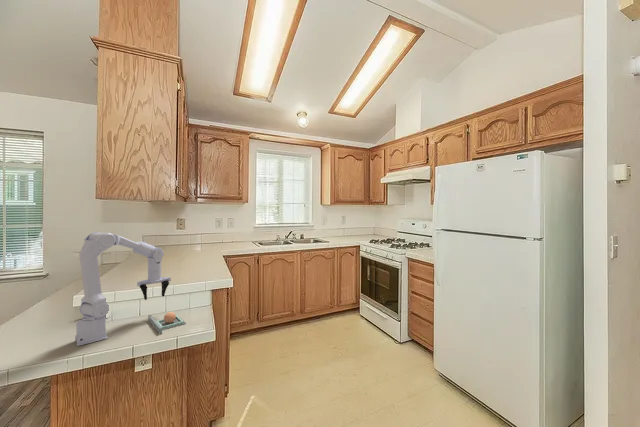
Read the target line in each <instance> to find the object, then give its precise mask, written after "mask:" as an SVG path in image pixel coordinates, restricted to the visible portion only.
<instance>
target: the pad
mask: <svg viewBox="0 0 640 427" xmlns="http://www.w3.org/2000/svg"><path fill="white" fill-rule="evenodd" d="M156 321H157V323H158V324H159V325H160V326H161V327H162V331H164V330H167V329H171V328H175V327H179V326H183V325H186V324H187V323H186V321H185V320H183V319H182V318H181V317H180V316H179V315H176V319H175V320H174V322H172V323H166V322H165V321H164V318H163V319H160V320H156Z"/></svg>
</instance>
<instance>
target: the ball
mask: <svg viewBox="0 0 640 427" xmlns="http://www.w3.org/2000/svg"><path fill="white" fill-rule="evenodd" d="M176 316H177V315H176V314H175V312H173V311H170V312H167V313H165V314H164V316H163V319H164V321H165V322H166V323H172V322H174V320H175V319H176Z"/></svg>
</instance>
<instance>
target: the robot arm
mask: <svg viewBox="0 0 640 427" xmlns="http://www.w3.org/2000/svg"><path fill="white" fill-rule="evenodd" d="M83 242H84V243H83V245H82V246H81V249H80V251H79V262H80V272H81V277H82V286H83V293H84V294H83V295H84V296H83V297H82V298H81V300H80V303H81V304H80V306H79V314H81V315H82V319H79V320H76V322H75V323H76V324H75V327H76V329H75V331H76V333H75V341H76V345H77V347H79V346H83V345H87V344H90V343H91V344H92V343H95V342H98V341H99V342H100V341H103V340H106V339H108V337H109V336H108V334H107V330H106V329H107V328H106V324H107V323H106V319H107V318H106V314H107V313H108V311H109V305H108V304H107V302H106V298H105V297H104V296H103V292H102V284H101V278H100V269H99V259H98V256H100V255H101V254H102V253H103V252H104V251H107V250H109V249H110V248H112V247H113V246H122V247H125V248H129V249H132V251H133V253H135V254H139V255H141V256H144V257H145V258H147V279H143V280H137V281H136V286H137V287H139V288H140V291H141V292H142V294H143V299H144V300H145V301H147V299H148V293H147V292H148V287H147V285H152V284H158V283H161V297H165V294H166V291H167V289H168V287H169V285H170V282H172V277H171V276H165V277H162V261H163V257H164V255H165V252H164V250H163V248H161V247H160V246H155V245H154V244H149V243H147V241H144V240H140V241H137V242H136V241H133V240H131V239H129V238H126V237H123V236H121V235H119V234H114V233H111V232H98V231H93V232H90V233H89V234H88V235H87V236H86V237H85V238H84V241H83Z"/></svg>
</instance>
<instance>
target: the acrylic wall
mask: <svg viewBox="0 0 640 427" xmlns="http://www.w3.org/2000/svg"><path fill="white" fill-rule="evenodd" d="M147 317H148V318H147V320H148V322H149V324H150V325H151V326H152V327H153V328H154V329H155V330H156V332H157V333H158V334H159V335H162V334H163V330H162V327H161V326H160V325H159V324H158V323H157V321H158V320H156V319H155V318H154V317H153V316H152V315H151V314H148V316H147Z"/></svg>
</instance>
